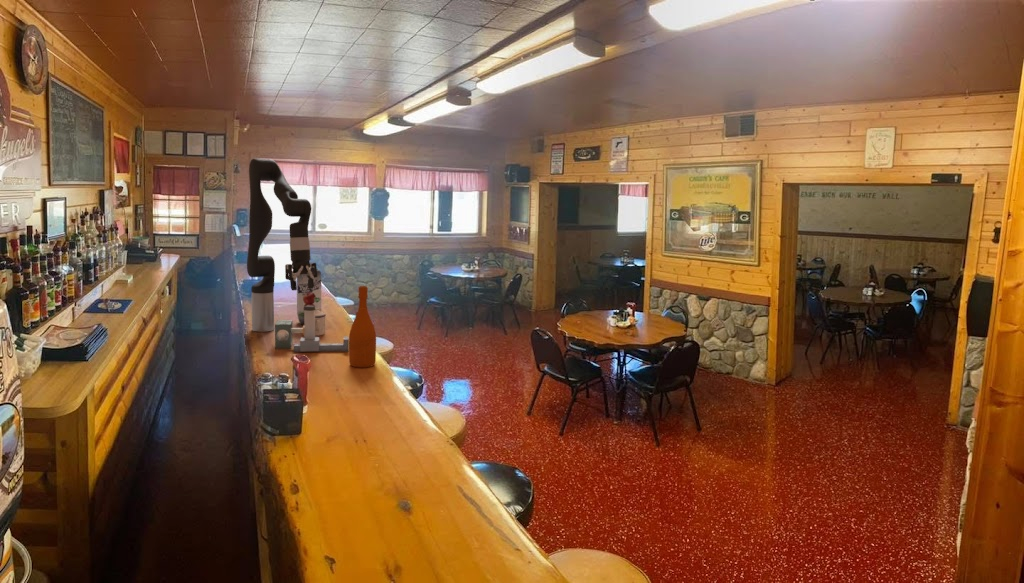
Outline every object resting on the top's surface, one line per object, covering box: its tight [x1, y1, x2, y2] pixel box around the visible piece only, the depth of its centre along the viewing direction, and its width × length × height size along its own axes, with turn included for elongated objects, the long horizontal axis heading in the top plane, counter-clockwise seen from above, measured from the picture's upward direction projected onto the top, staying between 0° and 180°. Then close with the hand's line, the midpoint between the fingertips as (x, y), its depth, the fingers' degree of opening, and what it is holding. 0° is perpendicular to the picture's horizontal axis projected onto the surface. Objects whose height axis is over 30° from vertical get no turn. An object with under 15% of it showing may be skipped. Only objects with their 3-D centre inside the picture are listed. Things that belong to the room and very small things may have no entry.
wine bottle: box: [348, 285, 377, 369], centre depth 239 cm, size 10×10×30 cm
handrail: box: [293, 336, 349, 353], centre depth 259 cm, size 5×21×5 cm, turn 104°
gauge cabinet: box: [274, 319, 294, 350], centre depth 262 cm, size 8×6×10 cm
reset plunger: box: [291, 325, 305, 336], centre depth 263 cm, size 3×9×3 cm, turn 104°
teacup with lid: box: [315, 308, 326, 337], centre depth 284 cm, size 12×9×12 cm
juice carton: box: [296, 268, 322, 326], centre depth 304 cm, size 9×10×27 cm
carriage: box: [299, 306, 320, 351], centre depth 256 cm, size 6×7×18 cm
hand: (302, 289), depth 259 cm, fingers open, 8 cm apart
